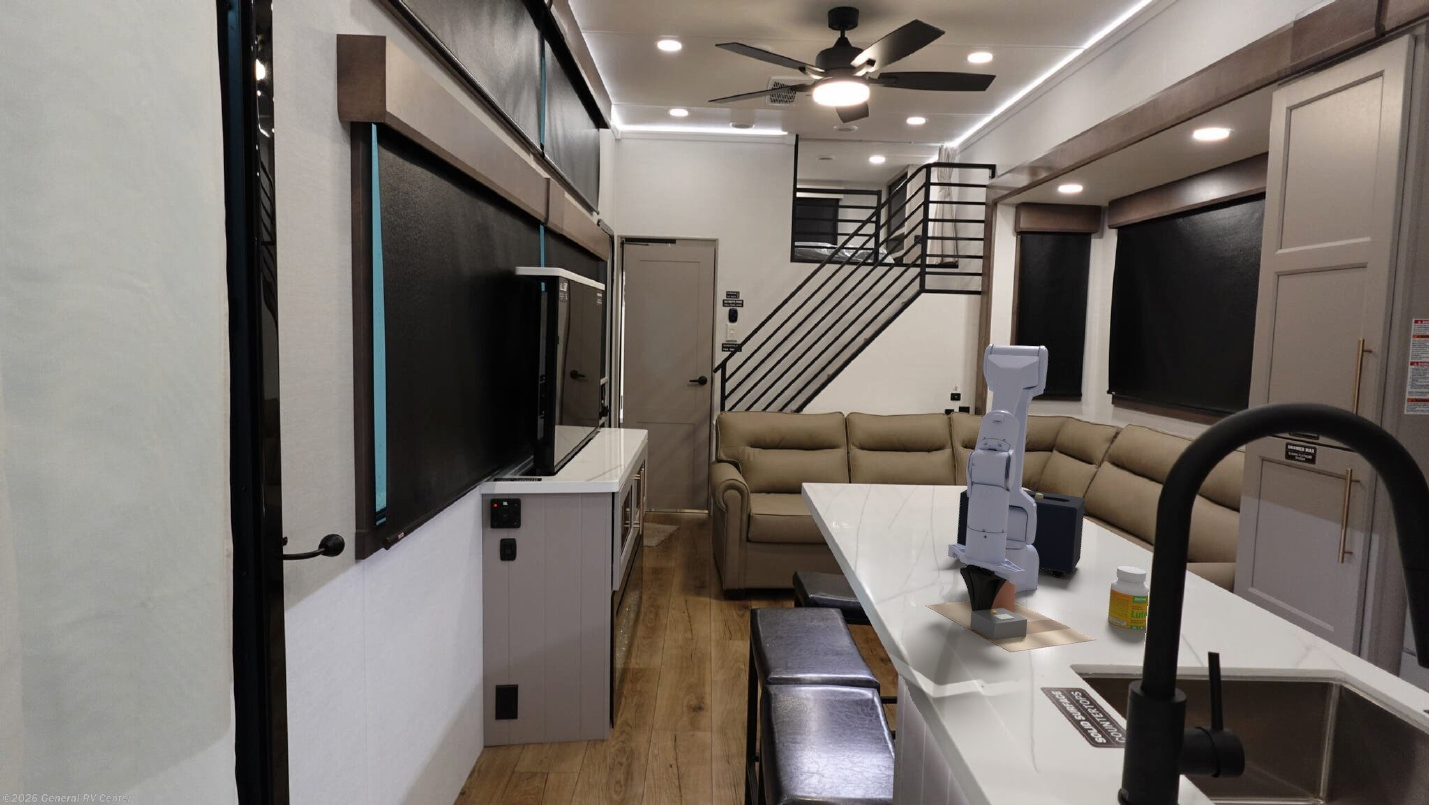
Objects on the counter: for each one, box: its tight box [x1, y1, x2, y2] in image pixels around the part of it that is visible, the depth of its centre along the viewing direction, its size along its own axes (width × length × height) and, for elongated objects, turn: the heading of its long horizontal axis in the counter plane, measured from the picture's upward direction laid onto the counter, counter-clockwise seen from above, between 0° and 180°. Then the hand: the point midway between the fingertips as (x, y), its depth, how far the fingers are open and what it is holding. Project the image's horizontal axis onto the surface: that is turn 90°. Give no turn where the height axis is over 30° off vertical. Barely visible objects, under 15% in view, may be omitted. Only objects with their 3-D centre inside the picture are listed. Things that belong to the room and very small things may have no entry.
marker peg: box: [991, 580, 1017, 613], centre depth 120 cm, size 4×4×7 cm
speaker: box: [956, 489, 1086, 578], centre depth 153 cm, size 22×13×15 cm, turn 58°
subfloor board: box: [925, 600, 1097, 653], centre depth 116 cm, size 16×19×1 cm
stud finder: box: [970, 608, 1027, 640], centre depth 112 cm, size 6×5×3 cm
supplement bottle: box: [1107, 565, 1150, 630], centre depth 118 cm, size 5×5×10 cm
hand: (980, 615), depth 115 cm, fingers closed
